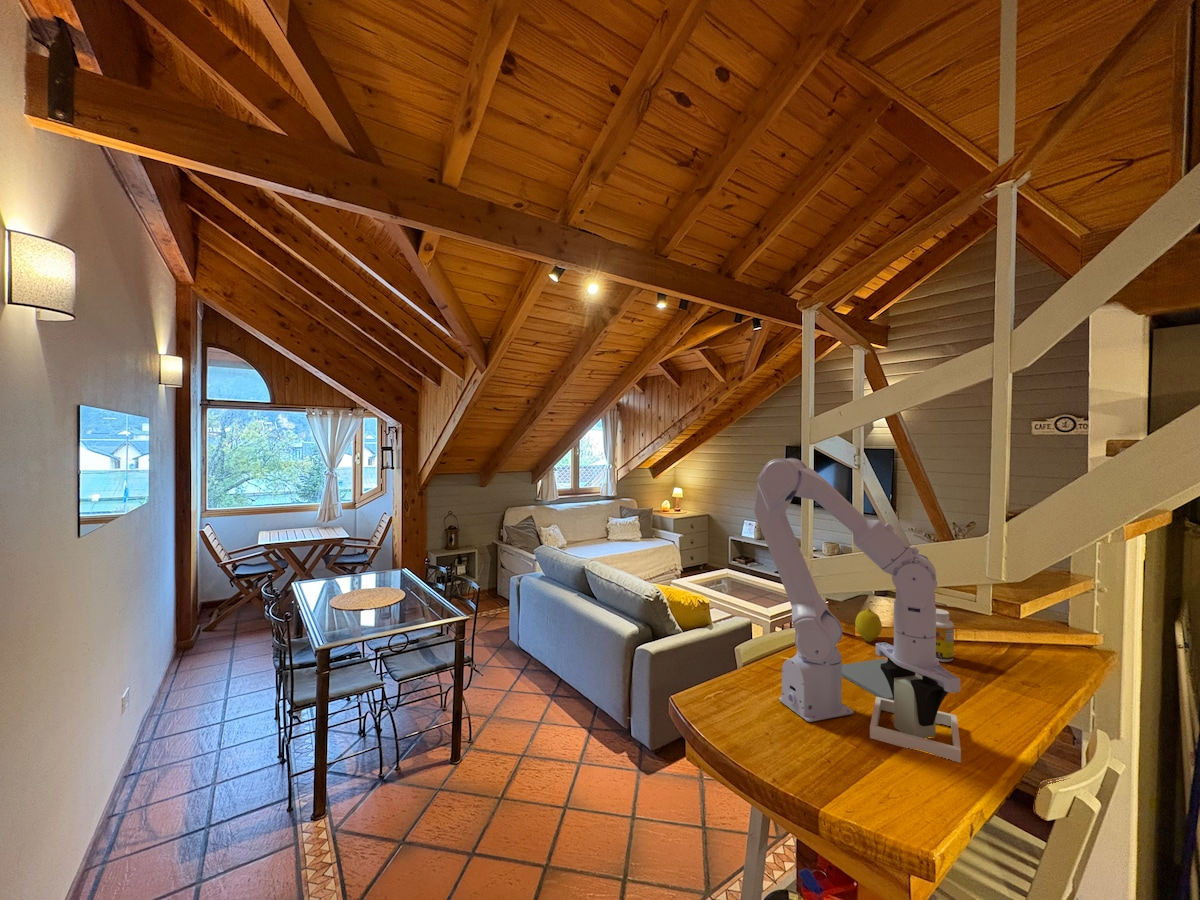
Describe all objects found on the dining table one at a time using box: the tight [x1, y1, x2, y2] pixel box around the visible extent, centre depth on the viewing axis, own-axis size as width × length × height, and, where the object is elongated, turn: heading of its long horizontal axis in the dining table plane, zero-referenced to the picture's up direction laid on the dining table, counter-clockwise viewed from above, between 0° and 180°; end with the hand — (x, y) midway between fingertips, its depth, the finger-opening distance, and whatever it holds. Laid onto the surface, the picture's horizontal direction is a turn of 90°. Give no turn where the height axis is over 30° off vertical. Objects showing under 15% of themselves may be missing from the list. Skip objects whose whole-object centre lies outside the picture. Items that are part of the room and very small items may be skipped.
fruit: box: [854, 607, 883, 643], centre depth 119 cm, size 6×6×8 cm
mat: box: [842, 657, 922, 701], centre depth 99 cm, size 14×14×1 cm
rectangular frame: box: [869, 696, 962, 764], centre depth 81 cm, size 12×12×2 cm
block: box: [893, 676, 937, 738], centre depth 81 cm, size 4×4×8 cm
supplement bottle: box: [936, 608, 955, 663], centre depth 110 cm, size 6×6×10 cm
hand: (914, 717), depth 81 cm, fingers closed on block, 4 cm apart
